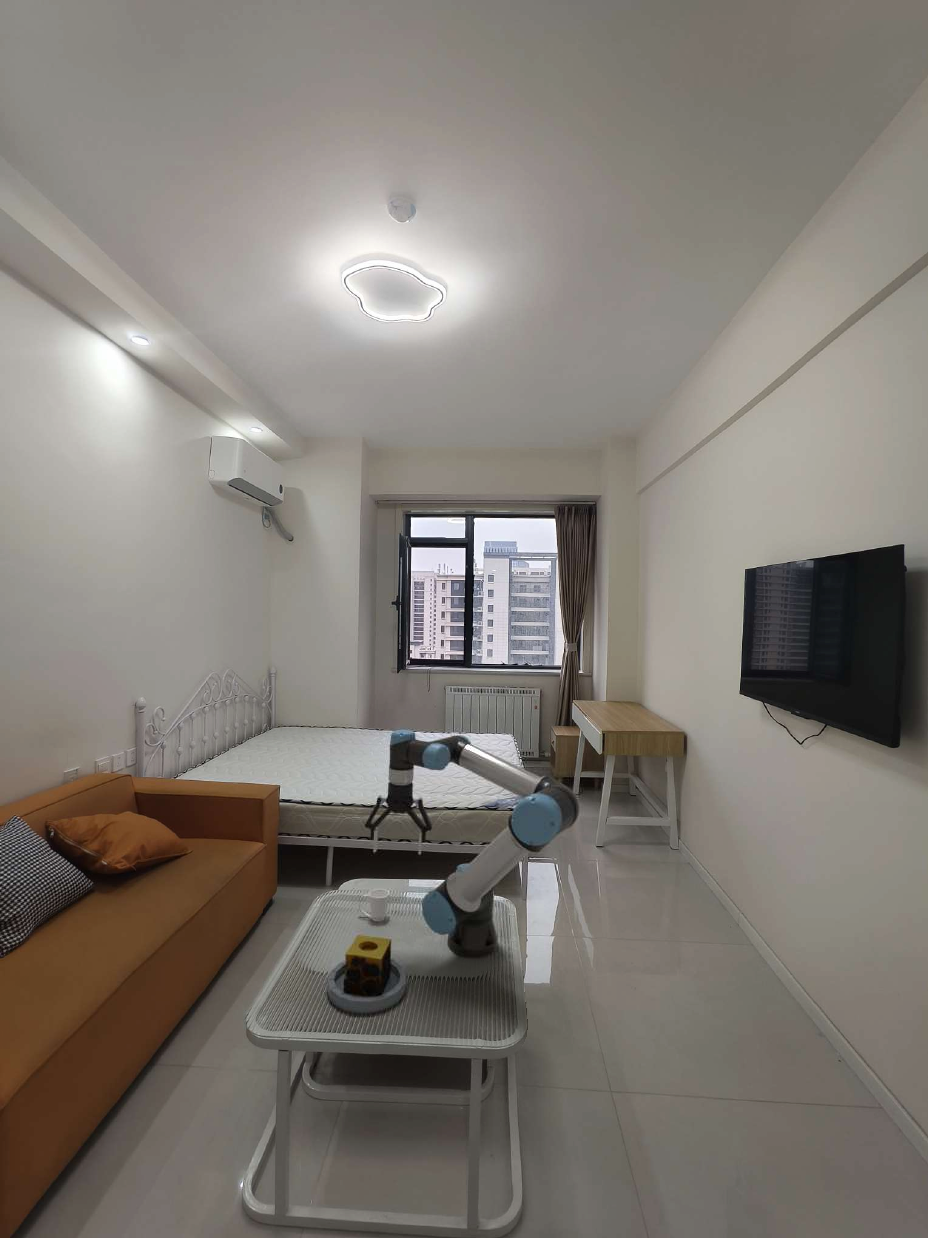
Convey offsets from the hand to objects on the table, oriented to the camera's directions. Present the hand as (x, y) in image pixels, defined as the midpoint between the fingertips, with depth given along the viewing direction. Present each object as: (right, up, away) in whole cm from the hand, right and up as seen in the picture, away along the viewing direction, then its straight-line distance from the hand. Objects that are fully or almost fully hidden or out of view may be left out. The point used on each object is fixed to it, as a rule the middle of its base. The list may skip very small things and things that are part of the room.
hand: (397, 852), depth 178 cm
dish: (-5, -26, -24) cm, 36 cm away
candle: (-5, -25, -24) cm, 35 cm away
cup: (-9, -27, +13) cm, 31 cm away
